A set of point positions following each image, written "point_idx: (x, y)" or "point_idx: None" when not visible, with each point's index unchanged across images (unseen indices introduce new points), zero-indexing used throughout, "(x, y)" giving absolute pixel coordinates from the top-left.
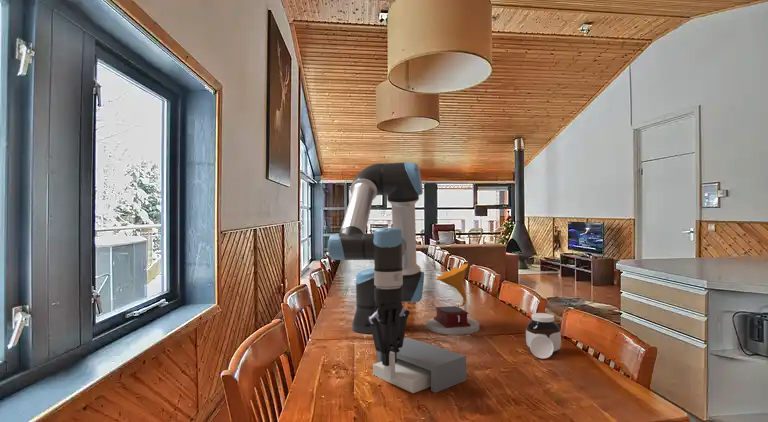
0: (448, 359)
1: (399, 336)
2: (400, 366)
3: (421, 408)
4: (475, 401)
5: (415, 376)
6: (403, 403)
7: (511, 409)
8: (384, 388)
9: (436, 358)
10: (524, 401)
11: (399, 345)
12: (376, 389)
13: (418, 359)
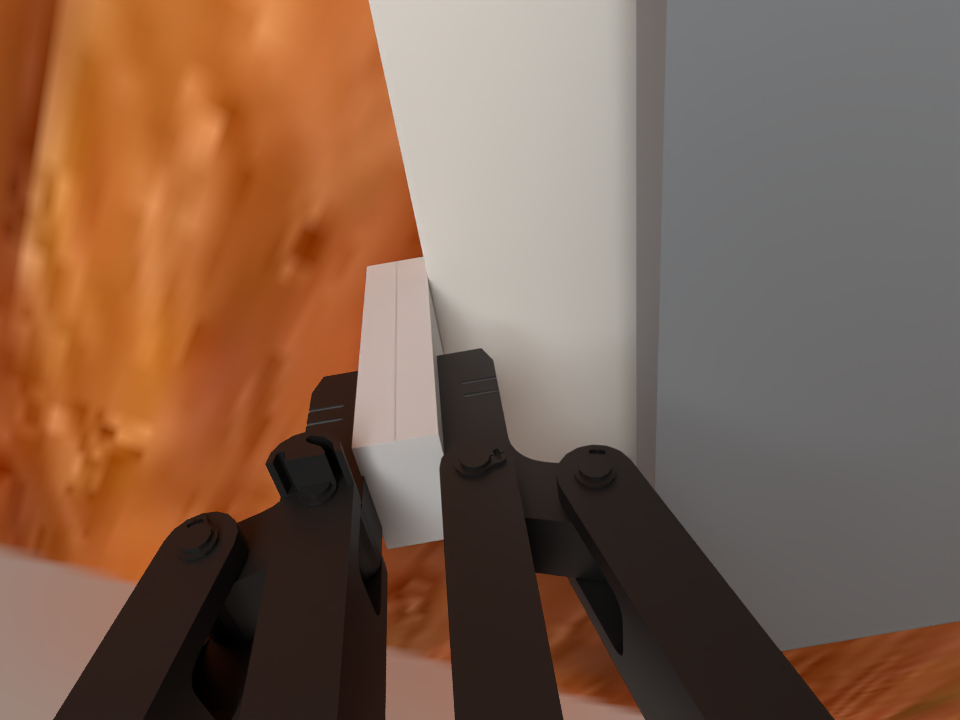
0: (863, 616)
1: (636, 680)
2: (618, 235)
3: (400, 600)
4: None
5: None
6: None
7: None
8: (325, 316)
9: (817, 574)
10: (834, 681)
11: (569, 580)
12: (250, 302)
13: None
